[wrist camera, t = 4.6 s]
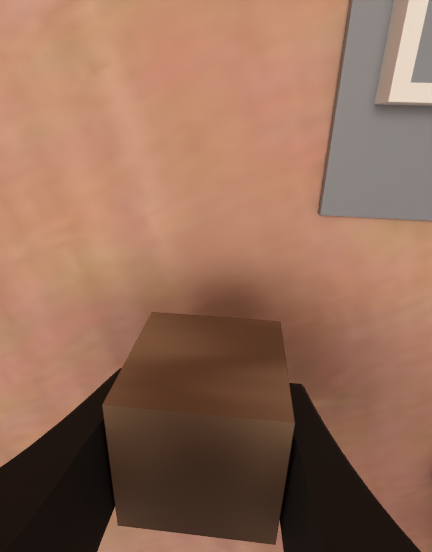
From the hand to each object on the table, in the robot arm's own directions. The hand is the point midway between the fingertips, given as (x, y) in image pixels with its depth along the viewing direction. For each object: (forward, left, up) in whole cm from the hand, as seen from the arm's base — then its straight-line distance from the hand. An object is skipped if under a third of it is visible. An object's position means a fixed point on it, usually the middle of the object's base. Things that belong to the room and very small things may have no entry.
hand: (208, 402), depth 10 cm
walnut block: (0, 0, -2) cm, 2 cm away
